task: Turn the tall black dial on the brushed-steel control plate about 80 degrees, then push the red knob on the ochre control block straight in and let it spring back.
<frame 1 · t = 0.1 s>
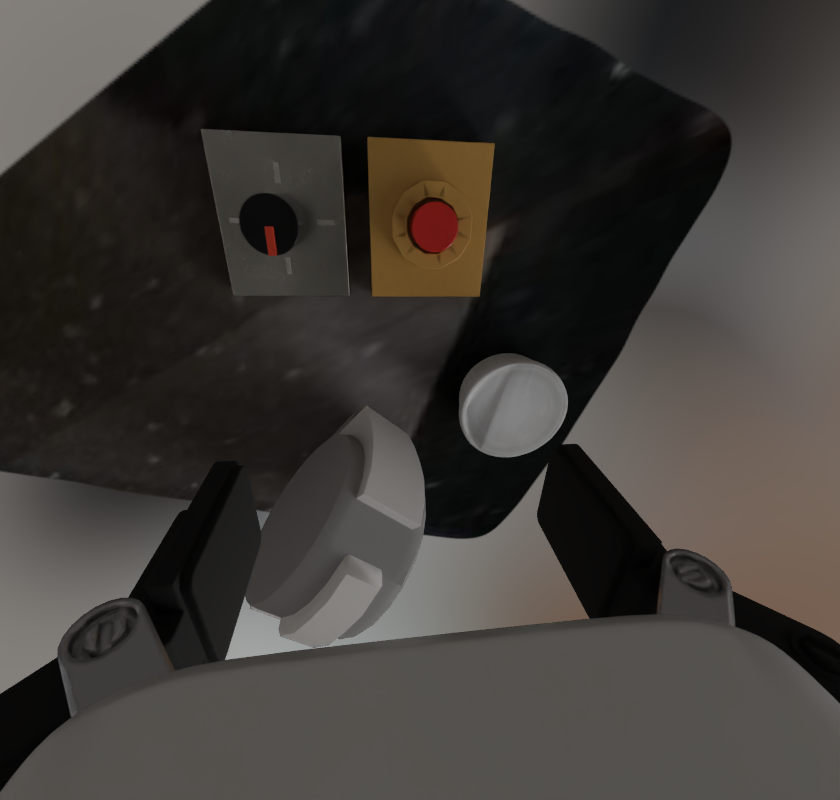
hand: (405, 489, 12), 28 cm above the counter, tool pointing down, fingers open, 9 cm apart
knob block: (425, 223, 34), on the counter
press knob: (433, 226, 30), point 4 cm above the counter, slide at 0.1 cm
dial plate: (287, 220, 33), on the counter
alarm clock: (342, 455, 45), on the counter
ramekin: (498, 389, 43), on the counter
dial: (276, 223, 29), point 5 cm above the counter, hinge at 0.0°
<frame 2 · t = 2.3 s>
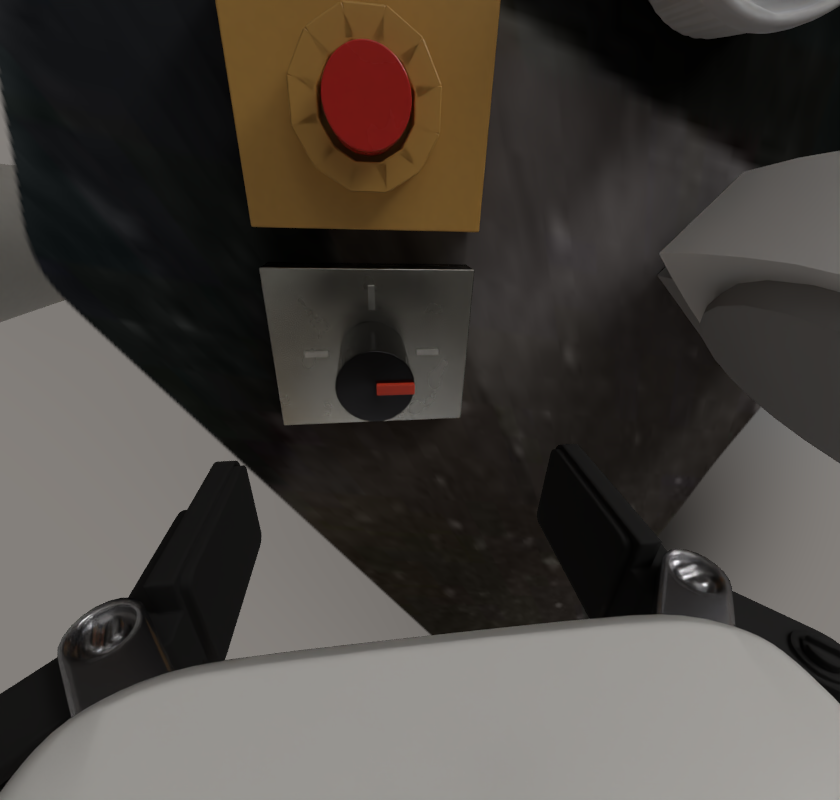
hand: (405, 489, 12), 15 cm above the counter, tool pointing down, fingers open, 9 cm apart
knob block: (365, 121, 20), on the counter
press knob: (366, 102, 16), point 4 cm above the counter, slide at 0.1 cm
dial plate: (372, 342, 25), on the counter
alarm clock: (719, 296, 27), on the counter
dial: (374, 369, 21), point 5 cm above the counter, hinge at 0.0°
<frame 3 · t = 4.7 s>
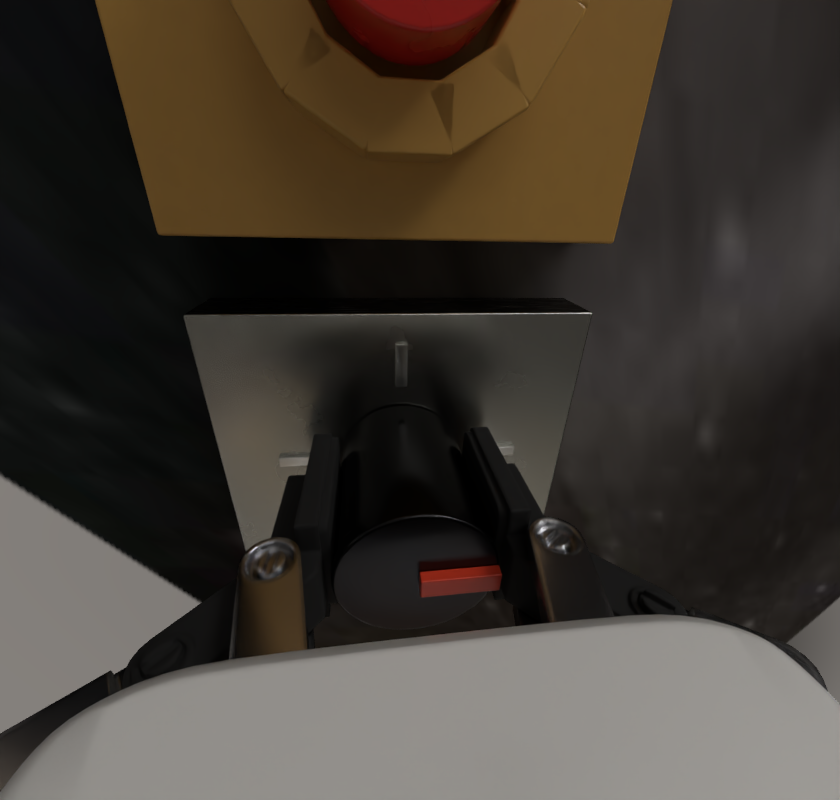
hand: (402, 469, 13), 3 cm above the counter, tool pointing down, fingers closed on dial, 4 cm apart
knob block: (396, 18, 10), on the counter
dial plate: (396, 424, 15), on the counter
dial: (407, 508, 11), point 5 cm above the counter, hinge at 0.0°, touching gripper
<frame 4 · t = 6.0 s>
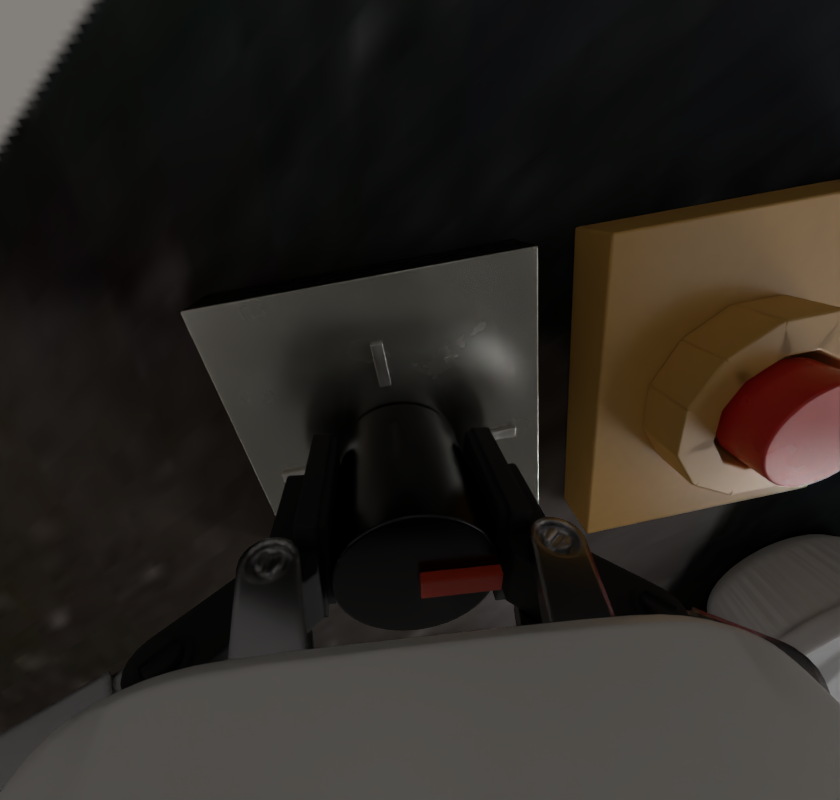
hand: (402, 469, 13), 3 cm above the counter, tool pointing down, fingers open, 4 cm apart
knob block: (686, 365, 15), on the counter
press knob: (795, 422, 12), point 4 cm above the counter, slide at 0.1 cm
dial plate: (396, 422, 15), on the counter
ramekin: (770, 579, 24), on the counter
dial: (407, 507, 11), point 5 cm above the counter, hinge at 80.8°
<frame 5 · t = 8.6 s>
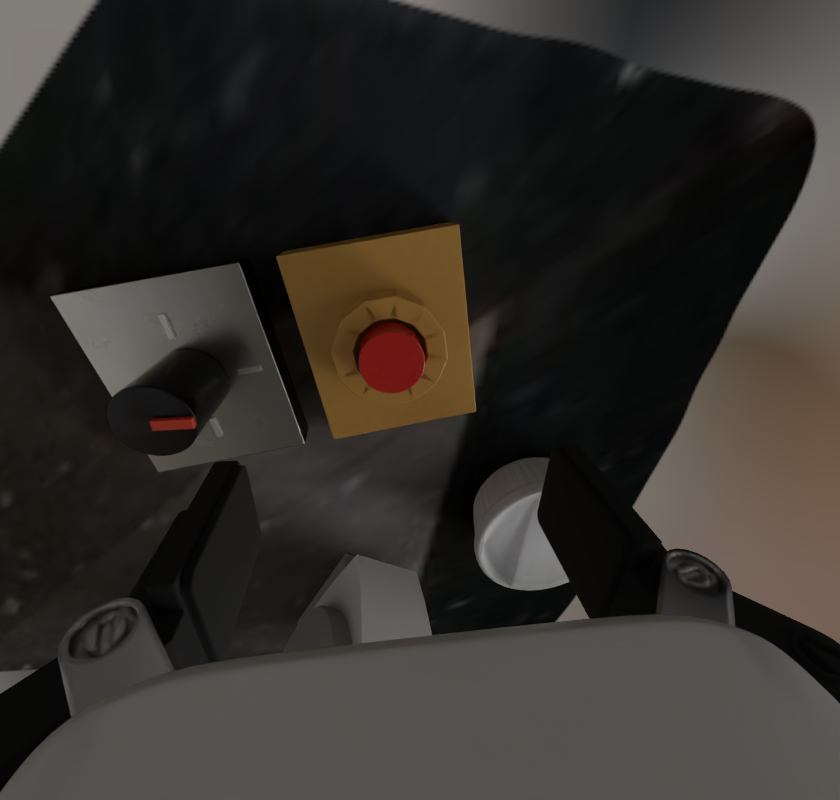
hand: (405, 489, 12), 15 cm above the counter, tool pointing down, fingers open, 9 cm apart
knob block: (387, 333, 25), on the counter
press knob: (391, 358, 21), point 4 cm above the counter, slide at 0.1 cm
dial plate: (206, 367, 25), on the counter
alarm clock: (345, 593, 37), on the counter
ramekin: (523, 495, 34), on the counter
dial: (174, 400, 21), point 5 cm above the counter, hinge at 81.0°
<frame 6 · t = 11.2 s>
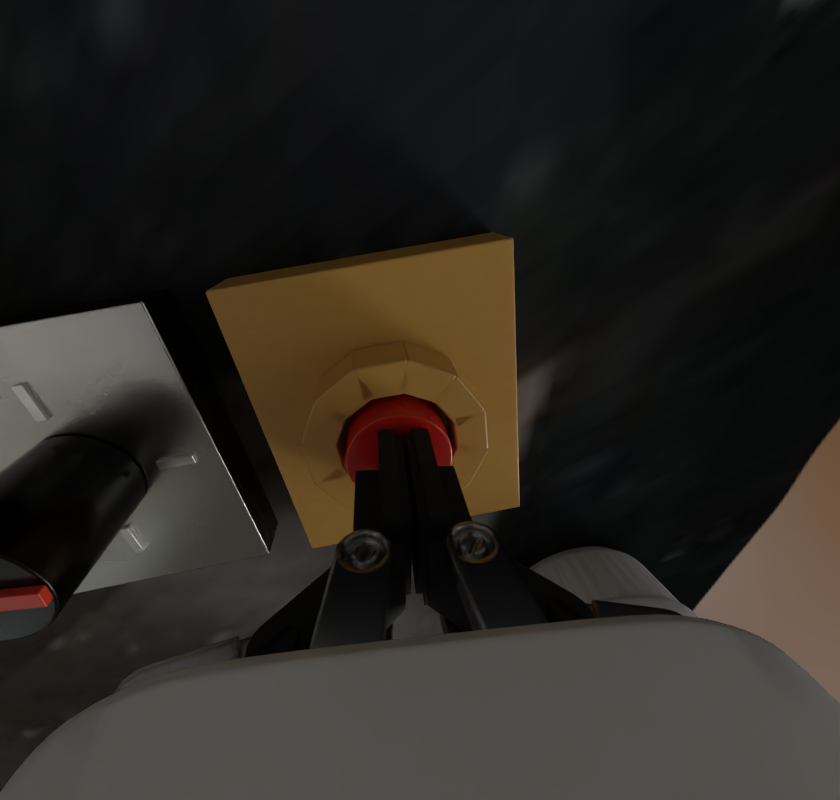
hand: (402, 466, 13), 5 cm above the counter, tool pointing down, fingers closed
knob block: (391, 395, 17), on the counter
press knob: (398, 446, 14), point 4 cm above the counter, slide at -0.5 cm, touching gripper
dial plate: (118, 447, 16), on the counter
ramekin: (567, 588, 26), on the counter
dial: (35, 531, 12), point 5 cm above the counter, hinge at 81.0°
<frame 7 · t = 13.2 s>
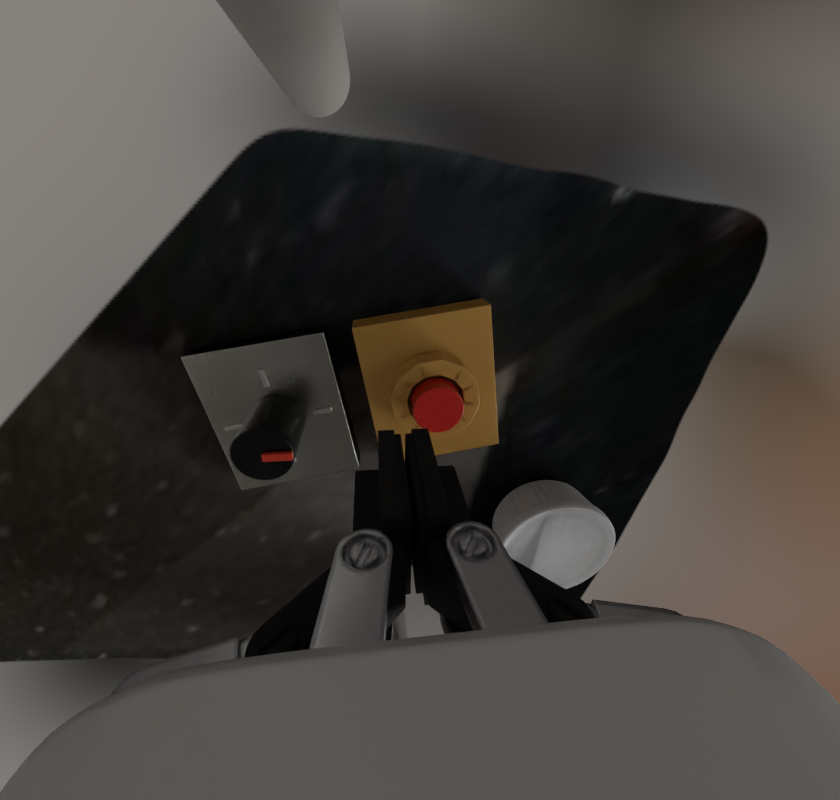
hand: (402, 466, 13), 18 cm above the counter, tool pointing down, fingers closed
knob block: (428, 380, 32), on the counter
press knob: (437, 405, 28), point 4 cm above the counter, slide at 0.1 cm
dial plate: (284, 406, 31), on the counter
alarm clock: (378, 595, 43), on the counter
ramekin: (534, 511, 40), on the counter
dial: (270, 436, 27), point 5 cm above the counter, hinge at 81.0°
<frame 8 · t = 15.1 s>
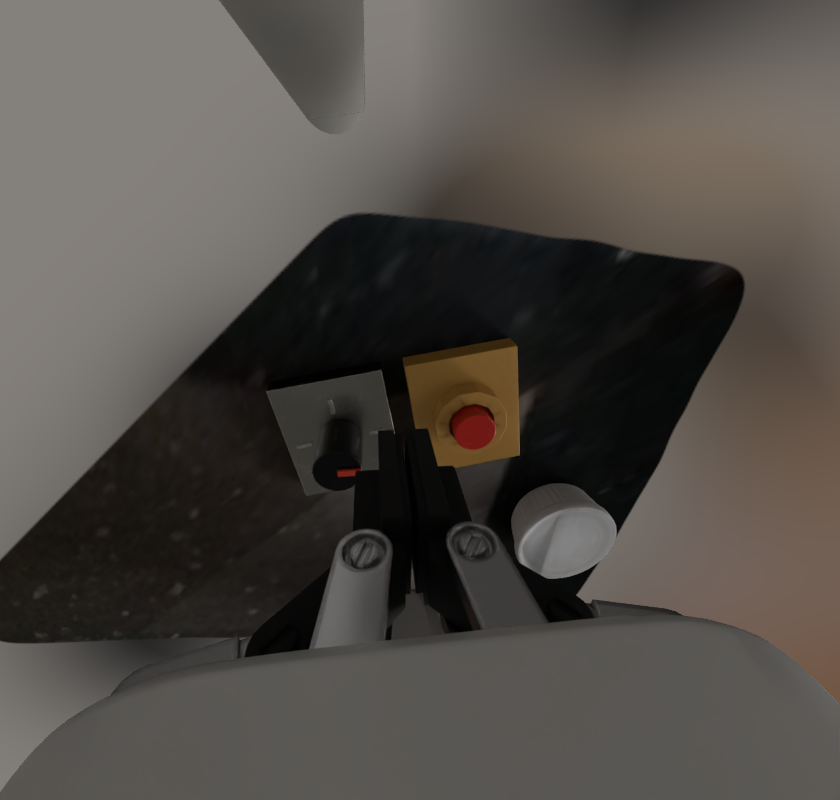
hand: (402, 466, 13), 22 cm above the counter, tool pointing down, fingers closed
knob block: (462, 403, 38), on the counter
press knob: (473, 427, 34), point 4 cm above the counter, slide at 0.1 cm
dial plate: (342, 426, 37), on the counter
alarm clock: (411, 581, 49), on the counter
ramekin: (546, 509, 46), on the counter
dial: (339, 455, 33), point 5 cm above the counter, hinge at 81.0°
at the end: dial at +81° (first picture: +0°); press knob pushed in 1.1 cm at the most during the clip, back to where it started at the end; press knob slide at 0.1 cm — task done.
